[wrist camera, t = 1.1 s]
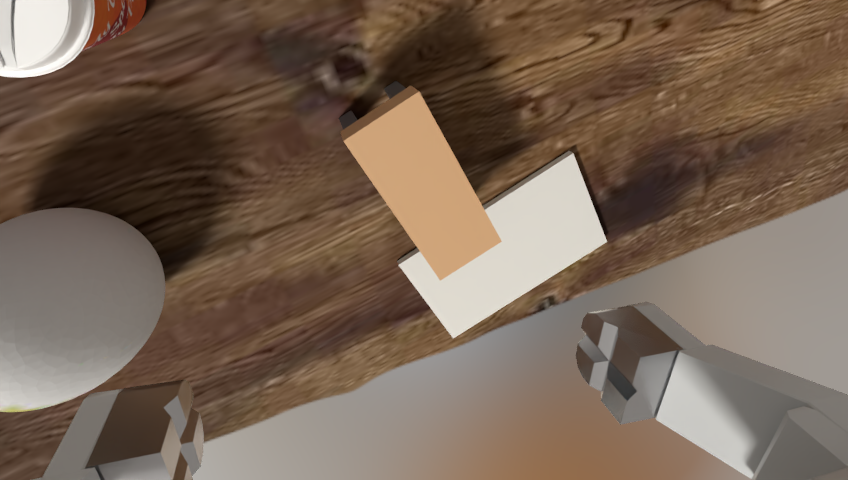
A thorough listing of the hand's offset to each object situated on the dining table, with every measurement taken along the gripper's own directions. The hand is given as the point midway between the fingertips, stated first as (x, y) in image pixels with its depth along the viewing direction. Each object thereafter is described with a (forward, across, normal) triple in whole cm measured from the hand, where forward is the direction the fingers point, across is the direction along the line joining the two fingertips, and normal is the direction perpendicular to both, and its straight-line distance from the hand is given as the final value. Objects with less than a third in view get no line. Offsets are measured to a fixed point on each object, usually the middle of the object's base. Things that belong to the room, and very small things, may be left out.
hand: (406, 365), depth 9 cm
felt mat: (+31, -18, +16) cm, 39 cm away
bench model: (+31, -7, +6) cm, 32 cm away
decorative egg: (+32, +19, +12) cm, 39 cm away
